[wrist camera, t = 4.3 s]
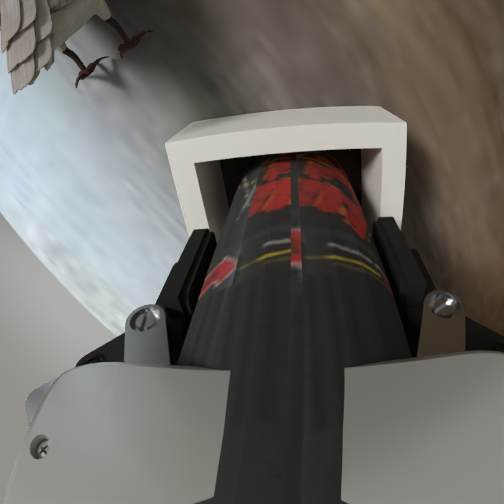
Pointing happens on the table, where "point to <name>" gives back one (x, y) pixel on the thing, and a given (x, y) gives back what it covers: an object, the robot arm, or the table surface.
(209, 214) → the holder
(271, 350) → the deodorant
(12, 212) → the table surface
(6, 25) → the decorative bird
